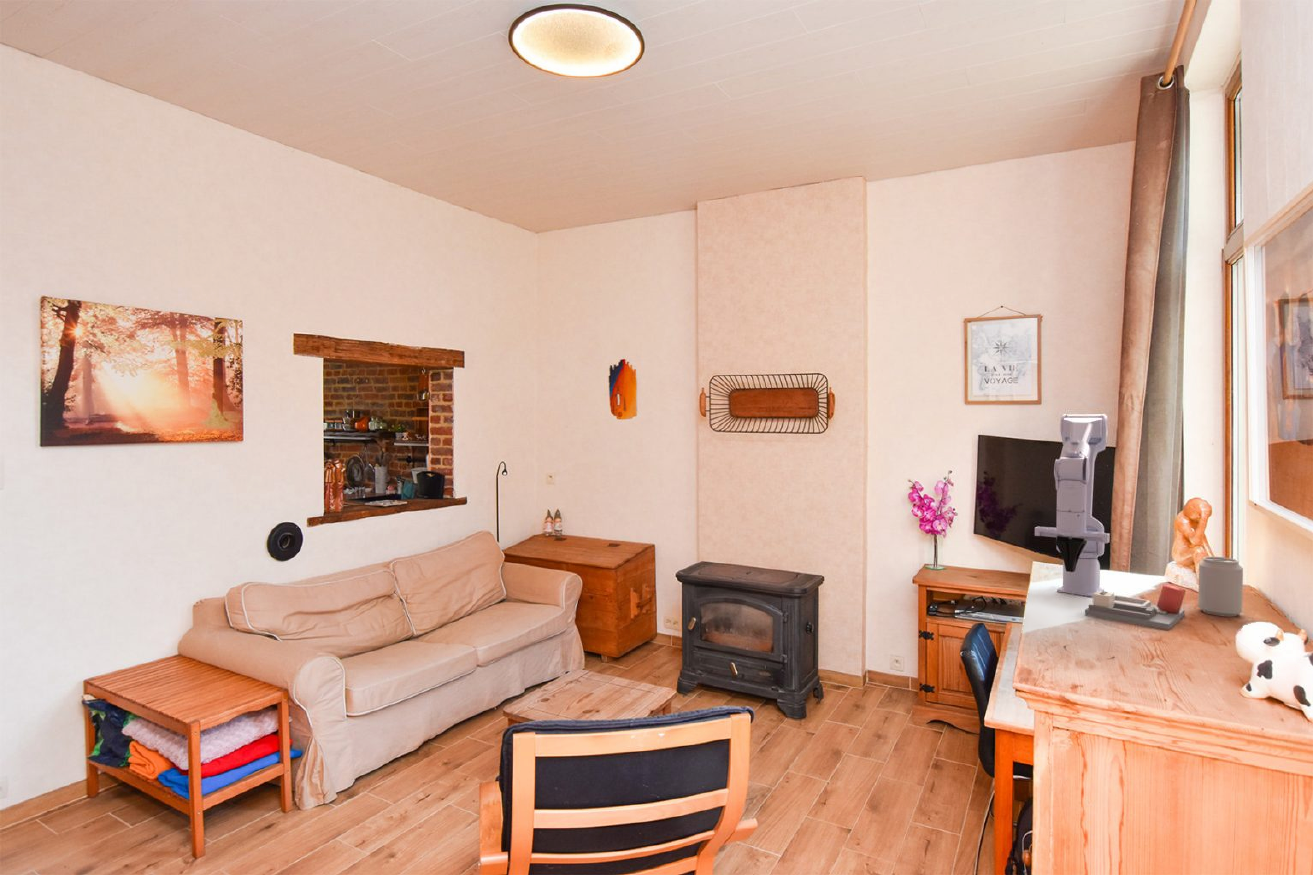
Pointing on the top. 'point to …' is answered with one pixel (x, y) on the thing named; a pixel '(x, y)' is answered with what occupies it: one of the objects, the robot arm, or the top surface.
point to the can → (1220, 586)
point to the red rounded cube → (1171, 598)
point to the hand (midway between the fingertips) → (1070, 571)
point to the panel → (1136, 613)
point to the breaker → (1103, 599)
